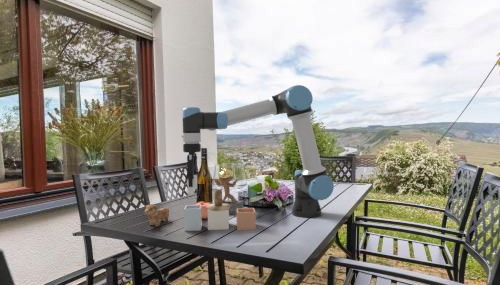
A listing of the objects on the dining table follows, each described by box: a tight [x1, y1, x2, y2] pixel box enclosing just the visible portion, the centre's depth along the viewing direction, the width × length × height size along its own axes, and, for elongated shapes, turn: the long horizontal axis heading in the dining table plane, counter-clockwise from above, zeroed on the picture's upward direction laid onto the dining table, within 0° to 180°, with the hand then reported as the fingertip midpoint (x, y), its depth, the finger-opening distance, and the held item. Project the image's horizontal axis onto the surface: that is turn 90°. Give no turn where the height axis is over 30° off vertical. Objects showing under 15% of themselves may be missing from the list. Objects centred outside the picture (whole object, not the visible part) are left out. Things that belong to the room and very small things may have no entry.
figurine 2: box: [214, 166, 244, 216], centre depth 160 cm, size 14×11×25 cm
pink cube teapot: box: [194, 201, 211, 220], centre depth 151 cm, size 8×12×8 cm, turn 83°
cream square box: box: [207, 209, 230, 231], centre depth 134 cm, size 9×9×9 cm
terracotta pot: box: [235, 207, 257, 231], centre depth 133 cm, size 8×8×8 cm
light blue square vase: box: [183, 204, 203, 232], centre depth 132 cm, size 7×7×10 cm
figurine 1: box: [143, 204, 170, 227], centre depth 142 cm, size 7×16×10 cm, turn 158°
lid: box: [207, 188, 230, 211], centre depth 134 cm, size 10×10×8 cm
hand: (192, 191), depth 132 cm, fingers open, 13 cm apart
